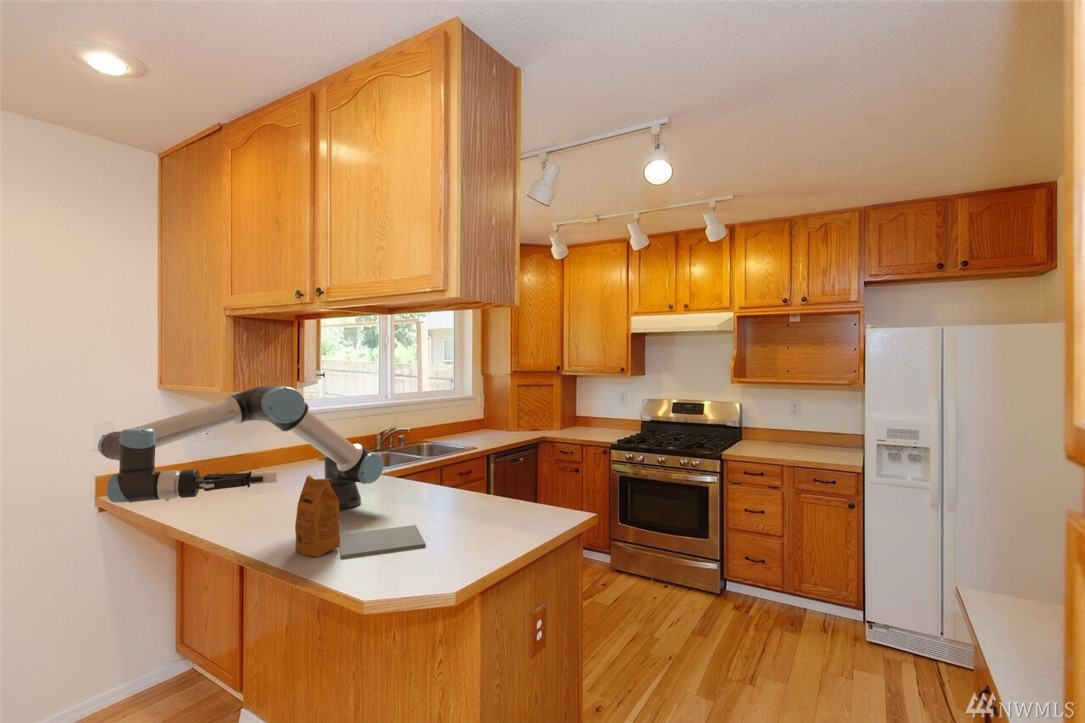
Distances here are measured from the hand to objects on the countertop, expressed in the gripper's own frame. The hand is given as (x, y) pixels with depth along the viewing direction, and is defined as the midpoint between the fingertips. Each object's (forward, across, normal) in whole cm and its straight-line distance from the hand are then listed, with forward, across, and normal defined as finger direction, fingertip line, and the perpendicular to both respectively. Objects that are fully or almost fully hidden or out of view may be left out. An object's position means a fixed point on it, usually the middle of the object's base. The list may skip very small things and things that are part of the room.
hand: (276, 477), depth 151 cm
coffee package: (+11, 0, -23) cm, 25 cm away
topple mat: (+30, 0, -22) cm, 37 cm away
